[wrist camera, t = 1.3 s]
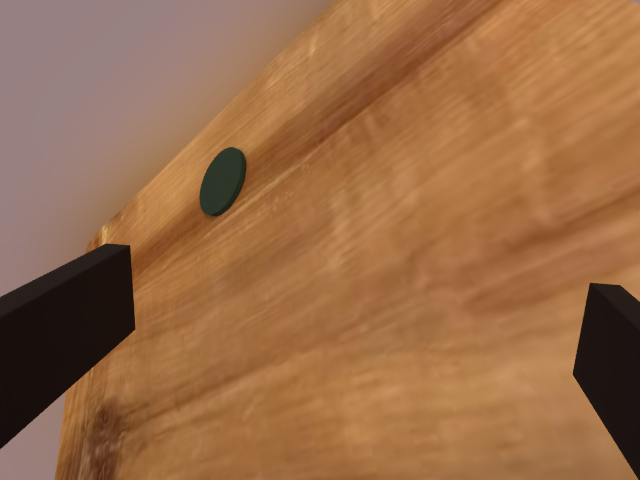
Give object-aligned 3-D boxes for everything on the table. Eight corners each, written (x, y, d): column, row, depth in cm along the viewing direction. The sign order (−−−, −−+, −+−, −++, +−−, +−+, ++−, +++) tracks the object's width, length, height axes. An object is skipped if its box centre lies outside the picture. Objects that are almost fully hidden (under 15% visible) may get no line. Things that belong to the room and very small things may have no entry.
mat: (255, 152, 53) (250, 150, 53) (227, 222, 53) (222, 220, 52) (220, 146, 59) (216, 144, 58) (196, 209, 59) (191, 207, 58)
